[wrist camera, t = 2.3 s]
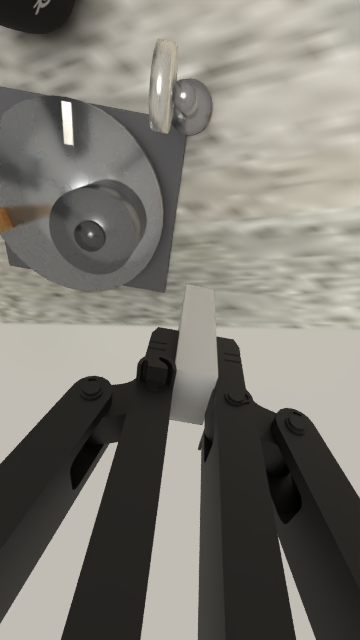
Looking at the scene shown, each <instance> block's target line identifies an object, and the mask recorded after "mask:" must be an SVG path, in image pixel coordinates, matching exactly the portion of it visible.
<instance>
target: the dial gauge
mask: <svg viewBox="0 0 360 640" xmlns="http://www.w3.org/2000/svg"><path fill="white" fill-rule="evenodd" d="M177 67H178V47H177V43H176V42H171V41H166V40H161V39H158V40H157V42H156V45H155V49H154V54H153V60H152V67H151V77H150V92H149V117H150V126H151V130H152V131H155V132H161V133H166V134H168V132H169V130H170V126H171V123H172V125H173V127H174V128H175V129H176V130H177V131H178V132H180V133H182V134H185V135H195V134H198V133H199V132H201V131H202V130H203V129H204V128H205V127H206V126H207V124H208V122H209V120H210V117H211V113H212V99H211V95H210V93H209V91H208V89H207V88H206V86H205V85H204V84H203V83H202V82H200V81H198V80H196V79H182V80H179V81H177Z"/></svg>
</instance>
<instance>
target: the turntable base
mask: <svg viewBox="0 0 360 640" xmlns="http://www.w3.org/2000/svg"><path fill="white" fill-rule="evenodd" d="M39 96H47V95H42V94H37V93H32V92H26V91H21V90H16V89H10V88H5V87H0V117H1V116H2V115H3V114H4V113H5V112H6V111H7V110H9V109H10V108H11V107H13V106H14V105H16V104H18V103H20V102H22V101H24V100H27V99H31V98H35V97H39ZM88 104H90V103H88ZM90 105H92V106H95V107H97V108H99V109H101V110H103V111H104V112H106V113H108V114H109V115H111V116H113V117H114V118H115V119H116V120H117V121H119V122H120V123H121V124H122V125H124V126H125V127H126V128H127V129H128V130H129V131H130V132H131V133H132V135H133V136H134V137H135V138H136V139H137V141H138V142H139V143H140V144H141V146H142V147H143V148H144V150H145V152H146V153H147V155H148V157H149V159H150V160H151V162H152V165H153V167H154V169H155V171H156V173H157V177H158V180H159V183H160V186H161V191H162V196H163V205H164V221H163V228H162V234H161V237H160V240H159V243H158V246H157V248H156V250H155V252H154V254H153V256H152V258H151V260H150V261H149V263H148V264H147V265H146V267H145V268H144V269H143V270H142V271H141V272H140V273H139V274H138V275H137V276H136V277H134V278H133V279H132V280H130V281H129V282H127V283H125V284H123V285H124V286H130V287H135V288H141V289H147V290H152V291H158V292H165V286H166V279H167V272H168V265H169V257H170V250H171V243H172V236H173V229H174V222H175V215H176V207H177V200H178V193H179V186H180V179H181V172H182V164H183V157H184V150H185V143H186V136H187V135H185V134H182V133H180V132H178V131H177V130H176V129H175V128H174V127H173V125H172V123H171V126H170V130H169V132H168V134H166V133H161V132H155V131H152V130H151V126H150V117H149V115H148V114H143V113H138V112H132V111H127V110H122V109H116V108H111V107H106V106H101V105H95V104H90ZM5 245H6V249H7V254H8V259H9V264H10V265H11V266H17V267H22V268H28V269H31V268H30V267H29V266H27V265H26V264H25V263H24V262H23V261H22V260H21V259H20V258H19V257H18V256H17V255H16V254H15V253H14V252H13V251H12V250H11V248H10V247H9V246H8V245H7V243H6V242H5Z"/></svg>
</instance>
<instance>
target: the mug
mask: <svg viewBox="0 0 360 640" xmlns="http://www.w3.org/2000/svg"><path fill="white" fill-rule="evenodd" d="M74 3H75V0H0V25H1V26H4V27H7V28H10V29H14V30H17V31H21V32H26V33H32V34H45V33H49V32H52V31H55V30H56V29H58V28H59V27H61V26H62V25H63V24H64V23H65V22H66V20H67V19H68V17H69V16H70V14H71V12H72V9H73V6H74Z"/></svg>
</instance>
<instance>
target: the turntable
mask: <svg viewBox="0 0 360 640" xmlns="http://www.w3.org/2000/svg"><path fill="white" fill-rule="evenodd" d="M104 179H110V180H116V181H119V182H121V183H123V184H125V185H127V186H128V187H130V188H131V189H132V190H133V191H134V192H135V193H136V194H137V195H138V197H139V198H140V200H141V201H142V203H143V205H144V208H145V211H146V216H147V226H146V231H145V234H144V236H143V238H142V240H141V241H140V243H139V244H138V246H137V247H136V249H135V250H134V252H133V253H132V255H131V256H130V258H129V259H128V261H127V262H126V263H125V264H124V266H122V267H121V268H120V269H118V270H117V271H115V272H112V273H109V274H104V275H96V274H90V273H86V272H84V271H81V270H79V269H77V268H76V267H74V266H72V265H71V264H70V263H68V262H67V261H66V260H65V259H64V258H63V257H62V255H61V254H60V253H59V251H58V250H57V248H56V247H55V245H54V243H53V240H52V238H51V234H50V229H49V216H50V212H51V209H52V207H53V205H54V203H55V202H56V200H57V199H58V198H59V197H60V196H62V195H63V194H64V193H66V192H68V191H71V190H74V189H76V188H79V187H82V186H85V185H87V184H90V183H93V182H96V181H99V180H104ZM163 221H164V205H163V196H162V191H161V186H160V183H159V180H158V177H157V173H156V171H155V169H154V167H153V165H152V162H151V160H150V159H149V157H148V155H147V153H146V152H145V150H144V148H143V147H142V146H141V144H140V143H139V142H138V141H137V139H136V138H135V137H134V136H133V135H132V133H131V132H130V131H129V130H128V129H127V128H126V127H125V126H124V125H122V124H121V123H120V122H119V121H117V120H116V119H115V118H114V117H113V116H111V115H109V114H108V113H106V112H104V111H103V110H101V109H99V108H97V107H95V106H92V105H90V104H88V103H85V102H82V101H79V100H75V99H71V98H68V97H60V96H39V97H35V98H31V99H27V100H24V101H22V102H20V103H18V104H16V105H14V106H13V107H11V108H10V109H9V110H7V111H6V112H5V113H4V114H3V115H2V116H1V117H0V235H1V236H2V238H3V239H4V241H5V242H6V243H7V245H8V246H9V247H10V248H11V250H12V251H13V252H14V253H15V254H16V255H17V256H18V257H19V258H20V259H21V260H22V261H23V262H24V263H25V264H26V265H27V266H29V267H30V268H31V269H33V270H34V271H35V272H37V273H38V274H40V275H41V276H43V277H45V278H46V279H48V280H50V281H52V282H54V283H57V284H59V285H62V286H65V287H67V288H71V289H76V290H82V291H103V290H108V289H112V288H116V287H118V286H121V285H123V284H125V283H127V282H129V281H130V280H132V279H133V278H134V277H136V276H137V275H138V274H139V273H140V272H141V271H142V270H143V269H144V268H145V267H146V265H147V264H148V263H149V261H150V260H151V258H152V256H153V254H154V252H155V250H156V248H157V246H158V243H159V240H160V237H161V234H162V228H163Z"/></svg>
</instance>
